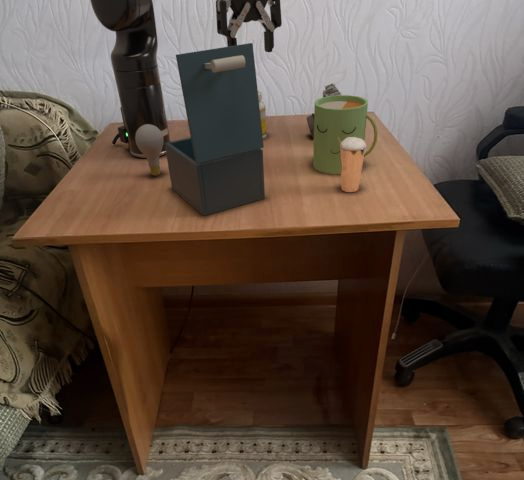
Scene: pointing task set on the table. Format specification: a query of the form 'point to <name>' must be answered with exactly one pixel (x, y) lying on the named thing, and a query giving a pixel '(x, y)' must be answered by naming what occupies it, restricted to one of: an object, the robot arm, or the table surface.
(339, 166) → the mug
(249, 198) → the compartment
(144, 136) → the light bulb
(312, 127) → the camera
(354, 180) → the milkshake
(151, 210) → the table surface
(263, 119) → the supplement bottle
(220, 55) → the lid
